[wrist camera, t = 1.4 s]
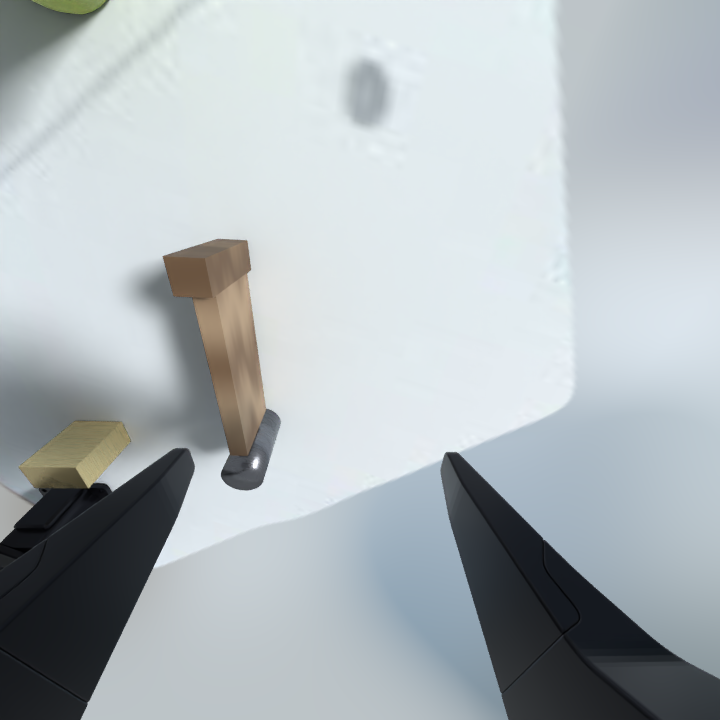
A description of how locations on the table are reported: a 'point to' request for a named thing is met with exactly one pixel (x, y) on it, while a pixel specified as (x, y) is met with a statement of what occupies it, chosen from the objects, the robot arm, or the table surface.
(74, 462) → the block
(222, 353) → the wooden t-bar
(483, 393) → the table surface
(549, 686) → the robot arm
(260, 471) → the grey metal cylinder
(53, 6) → the plant pot
